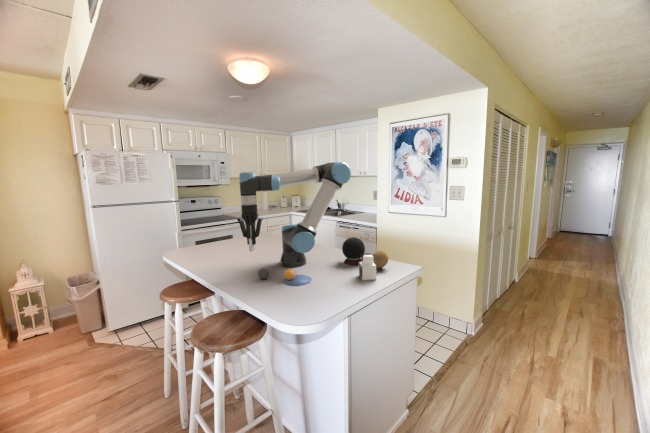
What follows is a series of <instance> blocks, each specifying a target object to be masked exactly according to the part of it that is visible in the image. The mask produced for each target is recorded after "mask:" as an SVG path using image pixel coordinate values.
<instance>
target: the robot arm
mask: <svg viewBox="0 0 650 433" xmlns="http://www.w3.org/2000/svg"><path fill="white" fill-rule="evenodd" d="M351 177H352V172H351V168H350V165H348V164H347V163H346V162H344V161H333V162H326V163H323V164H320V165H314V166H313V167H311V168H308V169H307V168H306V169H305V168H304V169H300V170H293V171H285V172H279V173H271V174H266V175H256V173H255V172H254V171H249V172H246V171H245V172H243V171H242V172H240V173H239V182H238V183H239V193H240V204H241V205H240V207H241V210H240V211H241V216H240V217H238V218H237V219H236V220H237V222H238V223H239V227H240V230H241V233H242V237H243V238H246V241H247V245H248V246H249V247H248V248H249V249H248V250H249V252H254V251H255V248H256V247H255V245H256V243H257V241H256V238H258V237H259V236H260V233H261V226H262V222H263V220H264V217H260V215H259V214H258V205H257V203H258V199H257V192H274V191H279V190H280V188H282V187H289V186H295V185H299V184H300V185H301V184H306V183H307V184H308V183H313V182H314V183H315V184H318V183H319V184H320V183H322V184H321V186H320V188H319V190H318V191H317V193H316V195H315V197H314V199H313V200H312V203H311V204H310V206H309V208H308V209H307V212H306V213H305V216H304V217H303V219H302V221H300V222H298V223H297V224H293V223H292V224H285V225H283V226H282V227H281V238H282V239H281V240H282V254H281V256H280V265H281V267H286V268H295V267H296V268H297V267H301V266H305V265H306V264H307V257H306V255H305V254H306V253H309V252H310V251H311V250H312V249H313V248H314V246H315V243H316V240H315V237H316V236H317V233H318V232H317V228H318V225H319V224H320V223H321V220H322V218H323V216H324V214H326V211H327V209H328V208H329V205H330V203H331V202H332V200H333V198H334V197H335V194H336V192H337V191H340V190H341V189H342V187H343V186H344V184H346V183H348V182H349V181H350V179H351ZM256 221H257V222H256Z"/></svg>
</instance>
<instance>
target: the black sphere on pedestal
mask: <svg viewBox="0 0 650 433" xmlns="http://www.w3.org/2000/svg"><path fill="white" fill-rule="evenodd" d="M341 247H342V249H341V250H342V254H343V256H344V257H345V260H343V264H344V265H346V266H353V267H356V266H358V267H359V262H361V255H362V254H365V253H366V245H365V243H364V242H363V241H362V240H361V239H360V238H359V237H354V236H353V237H348V238H347V239H346V240H344V242H343V243H342V246H341Z"/></svg>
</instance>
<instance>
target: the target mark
mask: <svg viewBox="0 0 650 433" xmlns="http://www.w3.org/2000/svg"><path fill="white" fill-rule="evenodd" d="M282 282H283V284H284V285H287V286H291V287H292V286H293V287H294V286H295V287H299V286H304V285H308V284H310V283H311V282H312V277H311V276H309V275H305V274H295V277H294V279H292V280H287V279H286V278H285V277H284V279H283V281H282Z"/></svg>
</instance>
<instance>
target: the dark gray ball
mask: <svg viewBox="0 0 650 433" xmlns="http://www.w3.org/2000/svg"><path fill="white" fill-rule="evenodd" d="M257 275H258V278H259V279H261V280H266V279H267V278H269V277H270V270H268V269H267V268H266V267H263V268H260V269H259V270H258V273H257Z"/></svg>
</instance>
